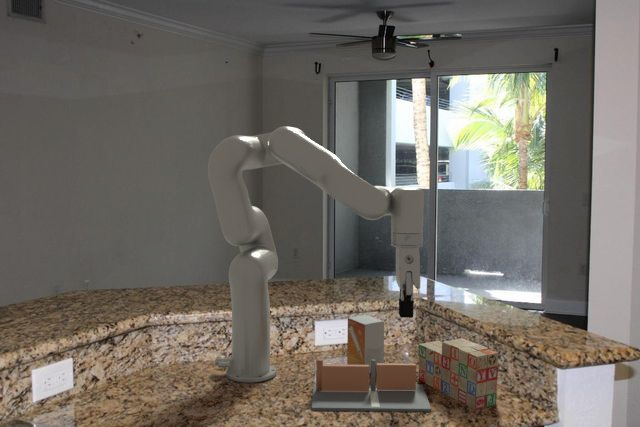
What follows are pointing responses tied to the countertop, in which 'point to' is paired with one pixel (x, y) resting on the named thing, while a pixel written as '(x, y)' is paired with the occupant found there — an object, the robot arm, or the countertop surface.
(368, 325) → the small box
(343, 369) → the fixed fence panel
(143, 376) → the countertop surface
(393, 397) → the board
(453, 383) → the stack of blocks
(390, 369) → the hinged fence panel
